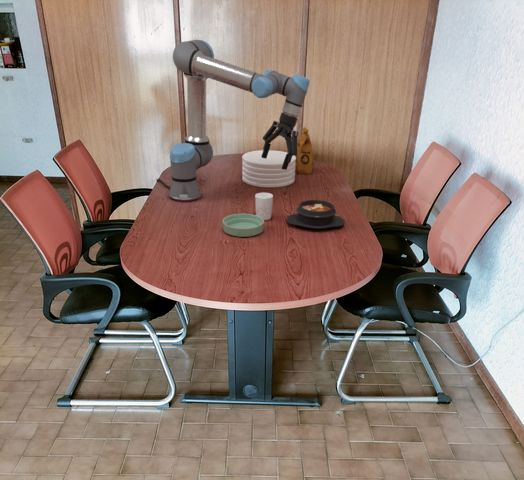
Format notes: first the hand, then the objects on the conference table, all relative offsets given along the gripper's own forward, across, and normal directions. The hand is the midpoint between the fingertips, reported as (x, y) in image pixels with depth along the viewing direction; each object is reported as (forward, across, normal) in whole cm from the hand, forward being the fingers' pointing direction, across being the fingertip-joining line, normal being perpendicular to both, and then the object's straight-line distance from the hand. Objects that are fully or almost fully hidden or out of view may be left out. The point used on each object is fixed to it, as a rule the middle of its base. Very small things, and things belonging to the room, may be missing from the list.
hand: (273, 163), depth 234 cm
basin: (+24, -18, +25) cm, 39 cm away
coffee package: (+9, +27, -56) cm, 63 cm away
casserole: (+15, -32, -2) cm, 35 cm away
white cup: (+21, -12, +9) cm, 26 cm away
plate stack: (+16, +28, -31) cm, 45 cm away
